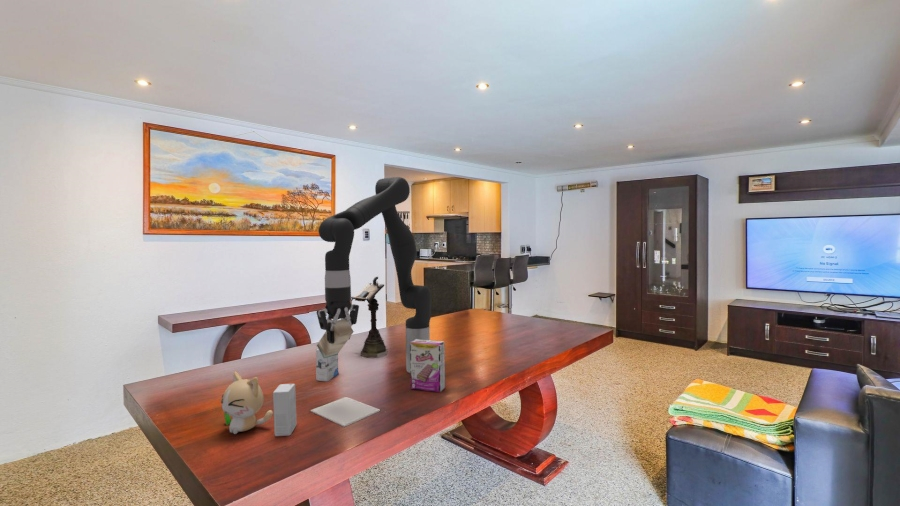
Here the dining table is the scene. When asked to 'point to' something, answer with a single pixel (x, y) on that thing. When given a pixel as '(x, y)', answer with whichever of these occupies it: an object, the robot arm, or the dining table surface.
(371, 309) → the book lectern
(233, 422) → the kitten
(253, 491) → the dining table surface
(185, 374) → the dining table surface
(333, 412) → the mat
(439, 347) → the candy bar box
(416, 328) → the robot arm
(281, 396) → the skincare box
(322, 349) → the birch block
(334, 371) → the ink box
